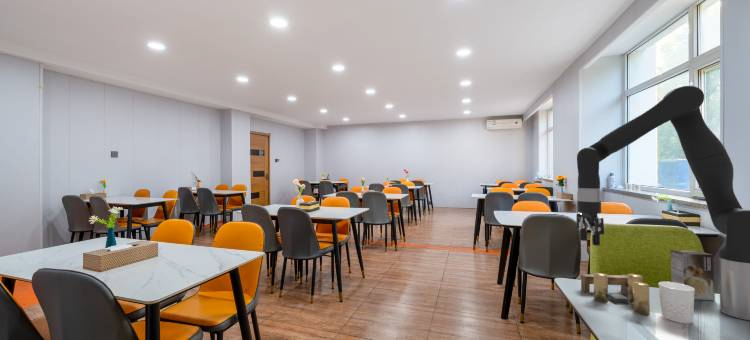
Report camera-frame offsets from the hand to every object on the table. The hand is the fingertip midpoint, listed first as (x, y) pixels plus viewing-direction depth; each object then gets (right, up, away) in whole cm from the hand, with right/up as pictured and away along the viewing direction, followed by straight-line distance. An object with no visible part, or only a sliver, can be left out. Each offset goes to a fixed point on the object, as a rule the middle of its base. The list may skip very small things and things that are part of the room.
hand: (589, 242), depth 117 cm
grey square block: (+3, -19, -9) cm, 21 cm away
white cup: (+11, -18, -23) cm, 31 cm away
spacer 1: (-2, -18, -9) cm, 20 cm away
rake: (+6, -18, -1) cm, 19 cm away
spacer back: (+4, -18, -18) cm, 26 cm away
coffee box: (+33, -18, -6) cm, 38 cm away
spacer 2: (+9, -18, -10) cm, 23 cm away
